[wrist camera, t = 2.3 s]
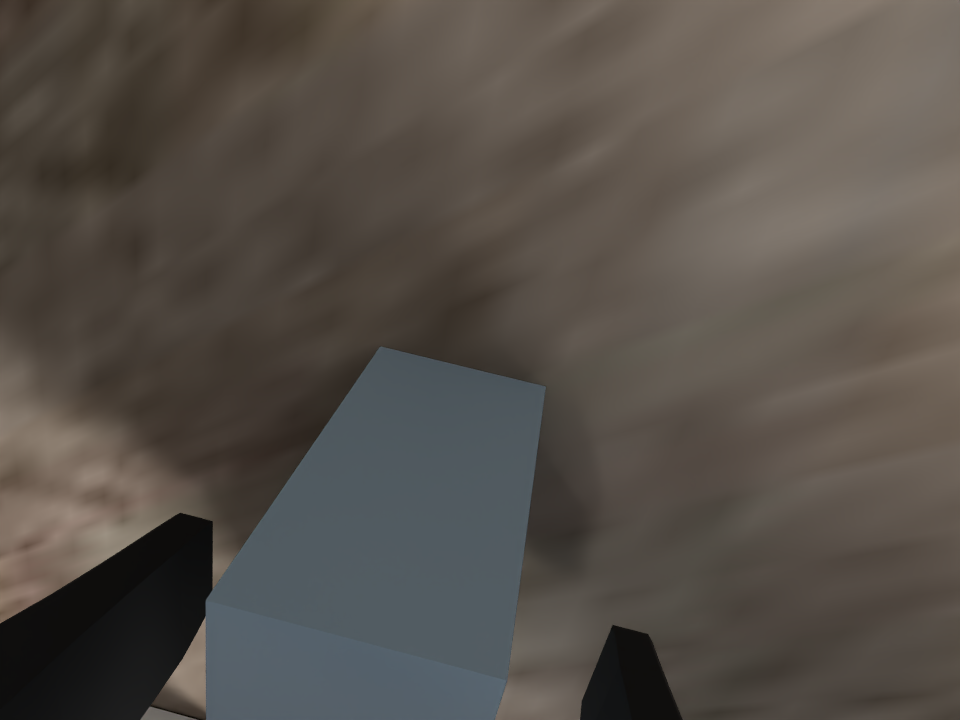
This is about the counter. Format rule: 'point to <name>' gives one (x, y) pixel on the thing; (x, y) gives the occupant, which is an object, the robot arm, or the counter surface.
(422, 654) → the blue block
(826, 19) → the counter surface
